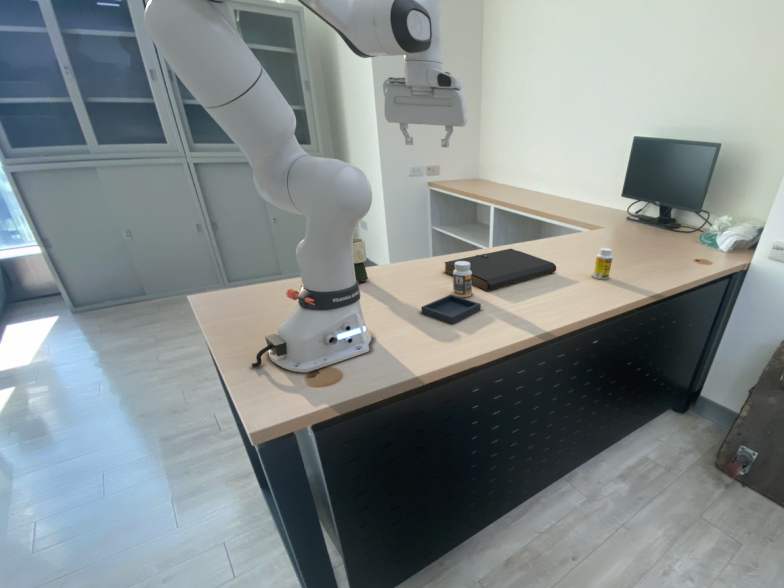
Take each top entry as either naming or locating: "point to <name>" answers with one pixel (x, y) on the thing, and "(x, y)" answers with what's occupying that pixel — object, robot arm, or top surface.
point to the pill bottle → (462, 279)
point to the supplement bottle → (603, 264)
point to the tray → (451, 309)
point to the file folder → (503, 268)
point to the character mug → (359, 259)
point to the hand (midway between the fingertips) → (427, 146)
